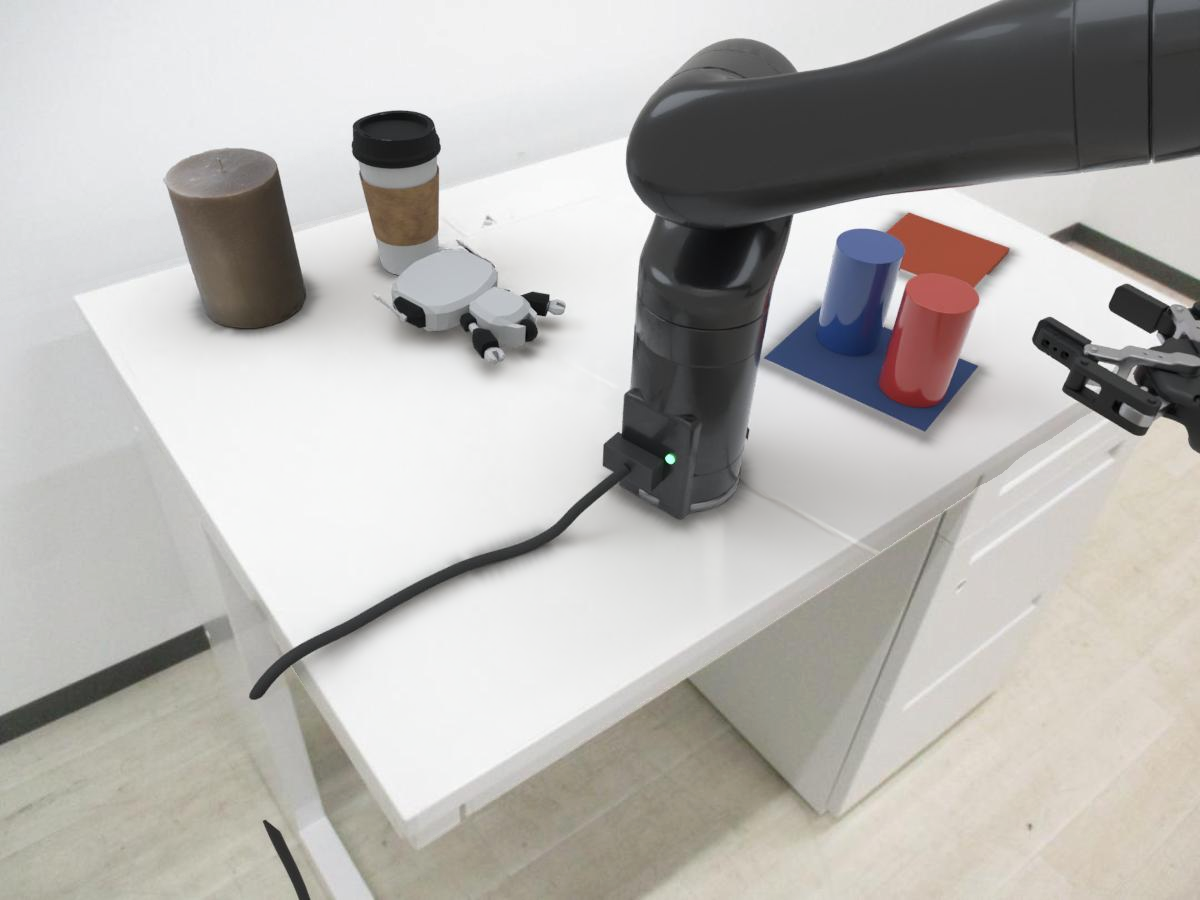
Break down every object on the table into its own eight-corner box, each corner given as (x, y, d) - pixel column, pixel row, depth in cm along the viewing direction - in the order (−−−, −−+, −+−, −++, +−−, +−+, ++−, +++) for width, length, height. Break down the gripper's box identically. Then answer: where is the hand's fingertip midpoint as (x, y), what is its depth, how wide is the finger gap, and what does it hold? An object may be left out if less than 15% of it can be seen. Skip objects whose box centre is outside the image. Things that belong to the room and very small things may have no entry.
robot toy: (572, 328, 93) (454, 268, 98) (575, 290, 89) (453, 230, 95) (493, 392, 85) (370, 324, 90) (494, 353, 82) (366, 285, 87)
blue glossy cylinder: (861, 364, 87) (886, 271, 81) (804, 339, 90) (824, 247, 83) (889, 335, 91) (916, 243, 84) (833, 312, 94) (855, 221, 87)
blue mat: (923, 436, 81) (925, 431, 81) (762, 362, 88) (763, 357, 88) (976, 370, 88) (978, 365, 88) (824, 307, 95) (825, 302, 95)
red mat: (966, 298, 97) (967, 294, 97) (860, 258, 102) (861, 253, 102) (1008, 252, 104) (1010, 247, 104) (907, 216, 110) (908, 212, 109)
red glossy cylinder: (929, 417, 82) (962, 322, 75) (866, 389, 85) (893, 294, 78) (956, 384, 86) (990, 290, 79) (895, 358, 88) (923, 265, 82)
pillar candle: (318, 313, 92) (288, 169, 82) (215, 340, 88) (170, 192, 78) (291, 265, 98) (260, 125, 88) (193, 288, 94) (149, 144, 84)
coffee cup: (351, 266, 98) (328, 126, 88) (405, 232, 103) (389, 96, 93) (415, 292, 95) (398, 150, 85) (466, 255, 100) (456, 117, 90)
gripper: (1392, 356, 59) (1159, 240, 69) (1262, 433, 53) (1028, 294, 63) (1327, 446, 64) (1118, 325, 74) (1202, 525, 58) (994, 383, 68)
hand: (1077, 311), depth 68 cm, fingers open, 8 cm apart
